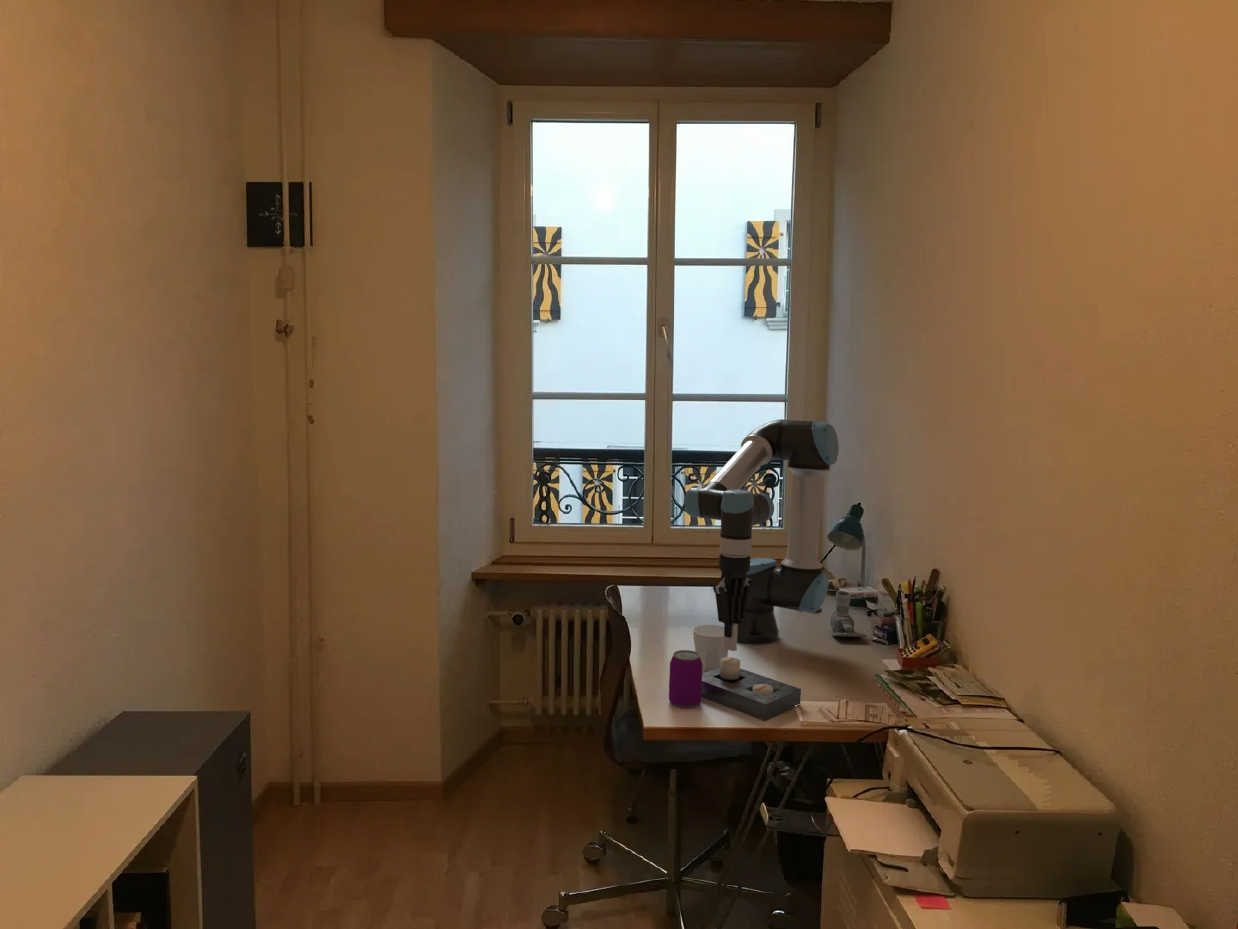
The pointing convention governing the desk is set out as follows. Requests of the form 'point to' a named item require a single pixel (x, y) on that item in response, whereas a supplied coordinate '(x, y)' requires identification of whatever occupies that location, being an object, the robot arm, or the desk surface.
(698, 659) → the beverage can
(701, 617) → the desk surface
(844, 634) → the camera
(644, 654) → the desk surface
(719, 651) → the cup
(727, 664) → the knob
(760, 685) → the knob
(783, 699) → the mount plate
